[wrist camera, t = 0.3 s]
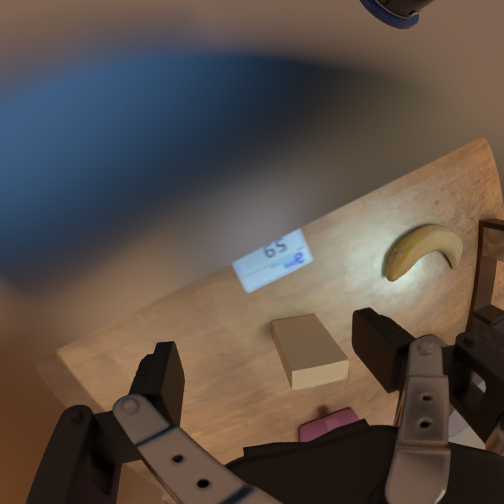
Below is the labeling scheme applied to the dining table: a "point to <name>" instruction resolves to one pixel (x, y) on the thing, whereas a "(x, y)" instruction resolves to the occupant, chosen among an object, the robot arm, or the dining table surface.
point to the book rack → (487, 284)
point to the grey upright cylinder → (455, 418)
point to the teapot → (326, 424)
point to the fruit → (423, 249)
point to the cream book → (308, 352)
